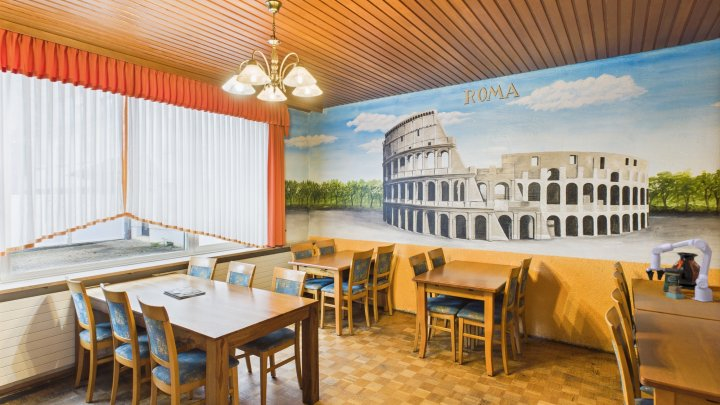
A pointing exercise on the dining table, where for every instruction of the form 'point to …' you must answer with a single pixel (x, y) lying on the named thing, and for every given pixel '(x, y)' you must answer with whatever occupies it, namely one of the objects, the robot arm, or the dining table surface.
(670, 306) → the dining table surface
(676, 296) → the teal plinth
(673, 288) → the walnut cube
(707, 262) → the robot arm
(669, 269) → the coffee jar
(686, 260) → the amphora vase
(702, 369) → the dining table surface
